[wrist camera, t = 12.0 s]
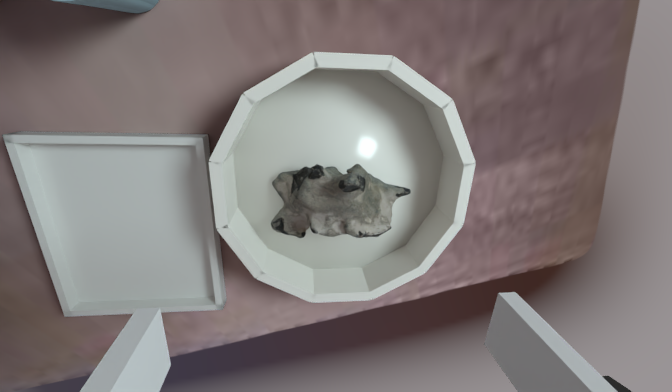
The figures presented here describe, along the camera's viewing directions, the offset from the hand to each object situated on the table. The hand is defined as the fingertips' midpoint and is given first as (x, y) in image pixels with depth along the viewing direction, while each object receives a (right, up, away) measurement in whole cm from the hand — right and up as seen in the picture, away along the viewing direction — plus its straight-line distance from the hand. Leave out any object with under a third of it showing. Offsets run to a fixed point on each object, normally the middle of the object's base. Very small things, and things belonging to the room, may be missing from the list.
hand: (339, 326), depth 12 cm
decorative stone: (0, +6, +24) cm, 25 cm away
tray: (-24, +2, +24) cm, 34 cm away
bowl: (0, +7, +25) cm, 26 cm away
